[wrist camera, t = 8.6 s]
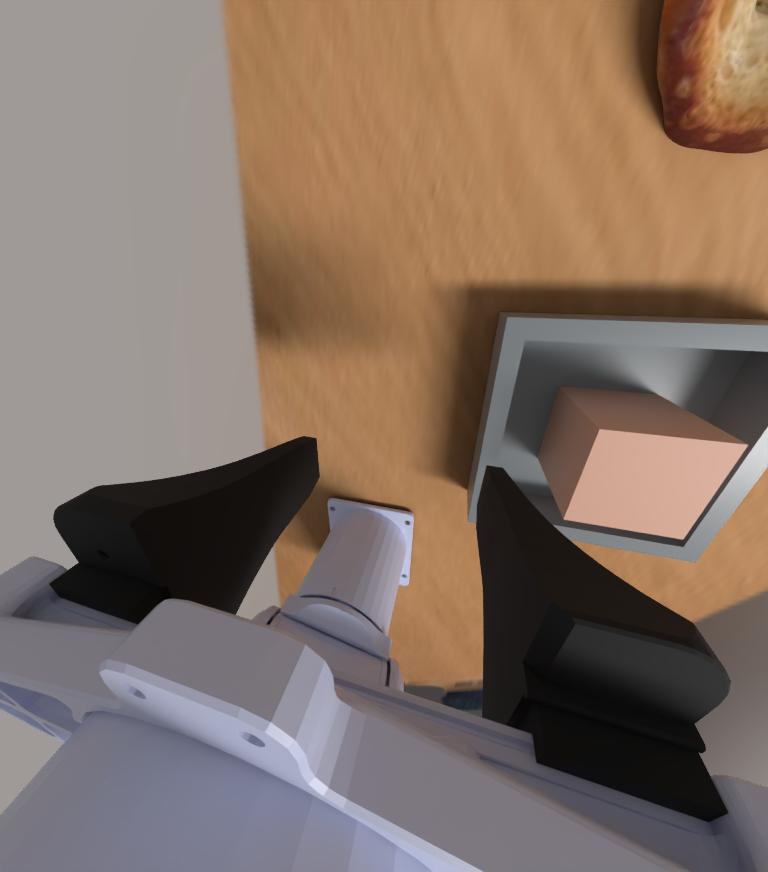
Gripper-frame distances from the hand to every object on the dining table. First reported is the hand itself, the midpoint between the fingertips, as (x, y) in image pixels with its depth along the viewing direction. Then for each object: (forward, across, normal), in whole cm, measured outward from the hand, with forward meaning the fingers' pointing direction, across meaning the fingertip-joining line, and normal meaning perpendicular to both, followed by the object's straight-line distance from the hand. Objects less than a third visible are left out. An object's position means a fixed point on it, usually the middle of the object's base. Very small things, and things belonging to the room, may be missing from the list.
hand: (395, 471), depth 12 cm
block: (+9, -11, 0) cm, 14 cm away
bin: (+9, -11, +1) cm, 14 cm away
